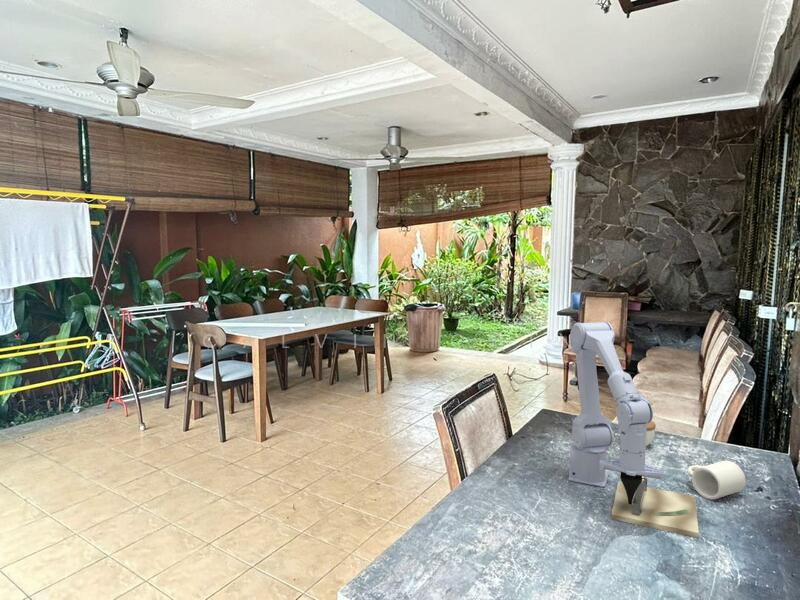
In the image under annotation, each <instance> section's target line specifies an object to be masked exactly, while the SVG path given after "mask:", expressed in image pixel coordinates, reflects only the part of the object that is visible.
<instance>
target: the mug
mask: <svg viewBox="0 0 800 600" xmlns="http://www.w3.org/2000/svg"><path fill="white" fill-rule="evenodd" d="M686 473H687V475H688V476H689V477H691V481H692V485H693V488H694V490H696V492H697V493H698V494H699V495H700V496H701V497H703V498H704V499H707V500H712V501H713V500H717V499H720V498H722V497H726V496H729V495H732V494H735V493H739V492H741V491H743V489H745V486H746V482H747V481H746V480H747V479H746V476H745V473H744V472H743V469H741V468H740V466H738V465H737V463H735V462H732V461H730V460H721V461H718V462H715V463H711V464H710V463H709V464H707V465H697V464H694V465H691V466H690V465H689V466H688V468H687V469H686Z"/></svg>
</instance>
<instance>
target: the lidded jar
mask: <svg viewBox="0 0 800 600" xmlns="http://www.w3.org/2000/svg"><path fill="white" fill-rule="evenodd" d="M646 424H647V431H646V448H647V447H648V446H649V445H650V444H651V443H652V442H653V440H654V438H655V434H656V427H657V426H656V423H655V422H654V421H653V420H652V421H651V422H650V423H646Z"/></svg>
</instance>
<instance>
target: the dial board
mask: <svg viewBox="0 0 800 600" xmlns="http://www.w3.org/2000/svg"><path fill="white" fill-rule="evenodd" d="M616 485H617V486H616V490H615V496H614V500H613V505H612V511H611V520H613V521H619V522H624V523H629V524H633V525H637V526H641V527H646V528H651V529H656V530H660V531H665V532H668V533H674V534H679V535H682V536H687V537H692V538H695V539H696V538H697V539H699V538H700V537H699V535H700V534H699V533H700V531H699V523H698V515H697V506H696V500H695V499H696V497H695V495H691V494H686V493H680V492H676V491H670V490H664V489H659V488H653V487H648V486H647V490H646V491H645V494H644V499H643V503H642V507H641V512H640V515H638V514H633V513H632V510H633V500H634V497H633V500H632V504H628V497H627V493H626V490H625V488H624V485H623V483H622V481H617V484H616ZM635 493H636V492H635ZM634 496H635V494H634Z"/></svg>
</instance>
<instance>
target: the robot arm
mask: <svg viewBox="0 0 800 600" xmlns="http://www.w3.org/2000/svg"><path fill="white" fill-rule="evenodd" d="M569 335H570V345H571V351H572V353H575V360H576V361H575V362H576V371H577V373H576V374H577V382H578V392H579V400H580V401H579V402H580V411H581V412H580V414H579V415H577V416H576V417H575V418H574V419H573V420H572V430H571V439H572V440H571V441H572V442H573V444H572V445H570V451H569V467H568V481H570V482H575V483H580V484H586V485H591V486H596V487H600V488H601V487H602V488H605V487H606V485H607V480H608V476H609V475H608V474H607V473H606V471H612V472H616V473H617V472H618V473H620V482H622V483H623V485H624V488H625V490H626V493H627V497H628V504H632V500H633V497H634V494H635V492H636V490H637V488H638V487H639V485H640V483H641V481H642V476H643V477H645V478H650V479H655V480H659V481H660V482H666V470H664V469H659V468H656V467H653V466H648V465H646V449H647V447H646V431H647V424H646V423H650V422H651V421H653V418H654V410H653V407H652V405H651V403H650V402H649V400H647V399H645V398H644V396H643V395H641V394H640V393H639V391H638V389H637V387H636V384H635V382H634V381H633V378H632V376H631V374H630V373H629V372H626V371H624V369H623V366H622V364H621V362H620V359H619V356H618V353H617V350H616V348H615V347H616V346H615V345H614V343H615V337H616V333H615V331H614V327H613V326H612V324H611V323H610V322H608V321H602V322H601V321H599V322H598V321H597V322H575V323H574V324H573V326H572V327H571V330H570V334H569ZM596 356H597V357H598V358H599V360H600V362H601V363H602V365H603V367H604V369H605V371H606V373H607V374H608V376H609V377H608V379H607V385H608V387H609V389H610V392H611V394H612V397H613V399H614V401H615V402H616V405H617V406H616V408H615V416H616V419H617V421H618V422H617V425H618V429H619V432H620V436H619V457H618V459H619V460H609V459H608V460H607V451H610V450H609V447H611V446H613V443H614V440H615V436H614V431H613V429H612V426H611V420H610V419H609V418H608V417H606V416H605V415H604V414H603V413H602V410H601V400H600V391H599V390H600V389H599V381H598V374H597V373H598V372H597V371H598V370H597V361H596Z"/></svg>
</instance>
